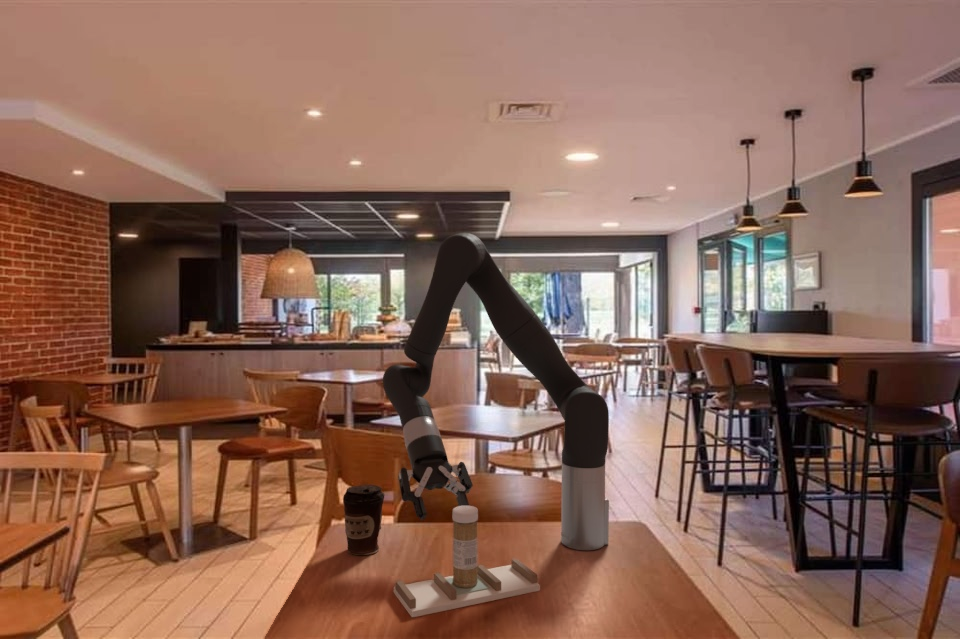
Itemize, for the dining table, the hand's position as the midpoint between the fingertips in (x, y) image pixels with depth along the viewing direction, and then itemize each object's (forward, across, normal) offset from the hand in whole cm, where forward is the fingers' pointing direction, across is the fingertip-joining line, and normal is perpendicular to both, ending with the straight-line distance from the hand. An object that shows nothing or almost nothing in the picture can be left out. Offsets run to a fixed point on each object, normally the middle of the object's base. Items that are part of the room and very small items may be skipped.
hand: (444, 514), depth 122 cm
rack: (+15, 0, 0) cm, 15 cm away
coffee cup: (-3, -12, +19) cm, 22 cm away
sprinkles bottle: (+14, 0, 0) cm, 14 cm away
